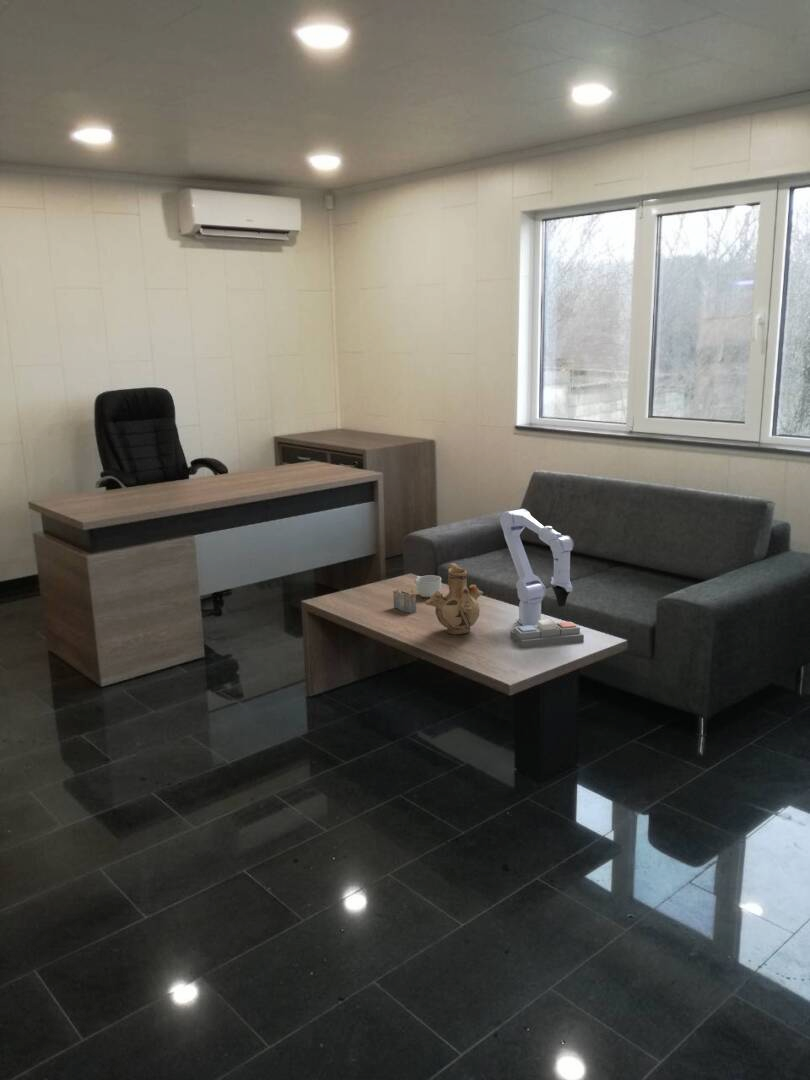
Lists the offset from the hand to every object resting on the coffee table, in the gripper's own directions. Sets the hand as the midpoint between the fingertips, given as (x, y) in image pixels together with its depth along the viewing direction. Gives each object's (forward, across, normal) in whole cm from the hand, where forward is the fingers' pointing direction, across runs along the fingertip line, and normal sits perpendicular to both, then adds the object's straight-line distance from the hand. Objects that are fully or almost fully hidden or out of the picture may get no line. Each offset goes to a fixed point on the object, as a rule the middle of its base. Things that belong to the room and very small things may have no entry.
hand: (561, 606), depth 311 cm
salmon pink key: (+8, +5, 0) cm, 9 cm away
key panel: (+10, +5, -8) cm, 14 cm away
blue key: (+8, +5, -15) cm, 18 cm away
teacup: (+10, -64, -34) cm, 73 cm away
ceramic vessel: (+10, -12, -36) cm, 40 cm away
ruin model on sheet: (+11, -46, -48) cm, 67 cm away
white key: (+6, +5, -8) cm, 11 cm away
